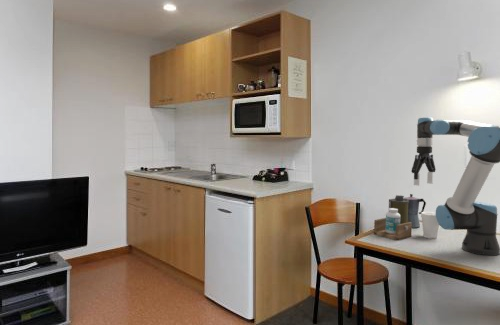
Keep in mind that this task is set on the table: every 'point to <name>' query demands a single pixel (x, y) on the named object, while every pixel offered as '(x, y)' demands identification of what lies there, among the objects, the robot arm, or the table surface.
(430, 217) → the foam cup
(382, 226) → the holder
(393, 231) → the pill bottle
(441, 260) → the table surface
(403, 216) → the canister
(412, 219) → the moka pot
